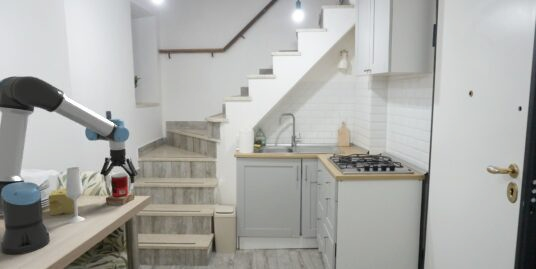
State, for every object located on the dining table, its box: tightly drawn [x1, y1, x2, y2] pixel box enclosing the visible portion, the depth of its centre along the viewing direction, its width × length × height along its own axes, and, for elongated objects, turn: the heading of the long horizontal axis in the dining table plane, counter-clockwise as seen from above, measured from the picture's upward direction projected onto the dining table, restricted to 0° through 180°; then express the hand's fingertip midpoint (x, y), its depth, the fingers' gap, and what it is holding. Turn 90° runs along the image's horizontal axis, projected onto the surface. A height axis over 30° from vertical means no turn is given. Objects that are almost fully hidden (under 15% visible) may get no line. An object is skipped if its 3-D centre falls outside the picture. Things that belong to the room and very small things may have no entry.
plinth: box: [105, 192, 135, 206], centre depth 182 cm, size 10×10×3 cm
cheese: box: [48, 188, 75, 216], centre depth 167 cm, size 10×11×10 cm
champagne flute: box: [65, 166, 86, 224], centre depth 154 cm, size 7×7×24 cm
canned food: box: [110, 172, 129, 197], centre depth 181 cm, size 8×8×11 cm
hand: (119, 188), depth 181 cm, fingers open, 13 cm apart
